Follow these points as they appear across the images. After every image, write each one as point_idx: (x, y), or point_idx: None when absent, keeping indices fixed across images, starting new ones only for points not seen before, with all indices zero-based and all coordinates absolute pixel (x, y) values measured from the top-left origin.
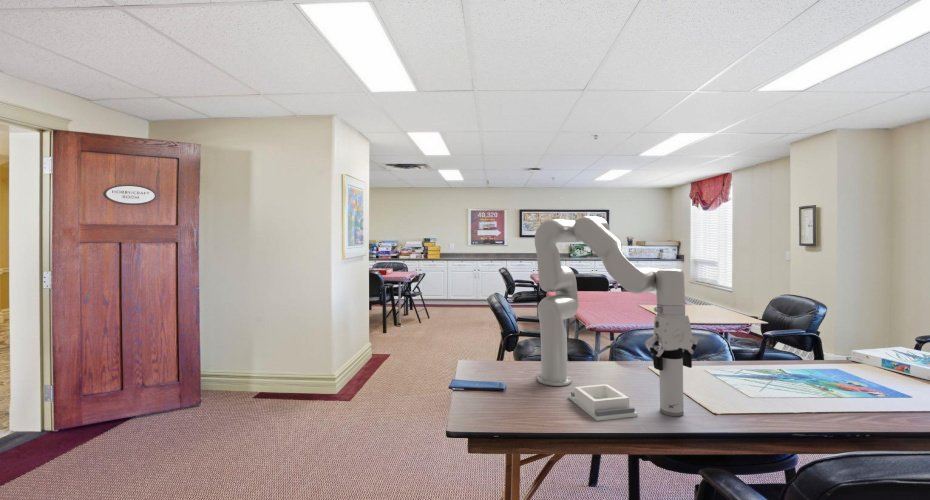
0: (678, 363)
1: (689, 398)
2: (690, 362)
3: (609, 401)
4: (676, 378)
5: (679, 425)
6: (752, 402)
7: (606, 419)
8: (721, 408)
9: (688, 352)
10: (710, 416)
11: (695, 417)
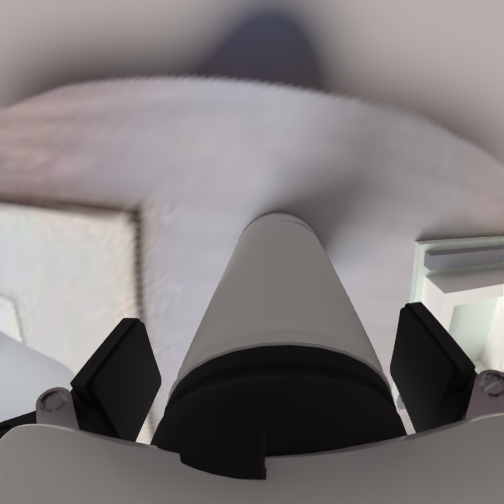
0: (273, 315)
1: None
2: (116, 339)
3: (498, 281)
4: (293, 258)
5: (324, 142)
6: (18, 272)
7: (496, 236)
8: (94, 251)
9: (83, 416)
10: (161, 196)
11: (219, 195)
